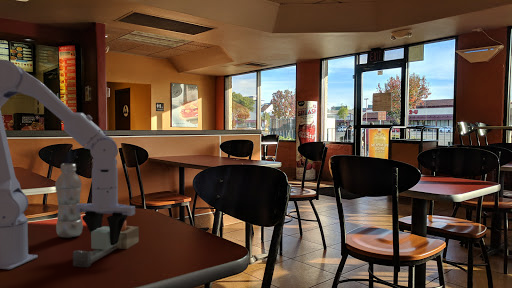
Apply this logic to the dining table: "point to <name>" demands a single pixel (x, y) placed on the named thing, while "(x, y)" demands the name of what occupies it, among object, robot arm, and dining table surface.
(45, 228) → the dining table surface
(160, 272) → the dining table surface
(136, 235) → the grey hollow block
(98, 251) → the rail
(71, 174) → the plastic bottle
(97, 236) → the block
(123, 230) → the button
